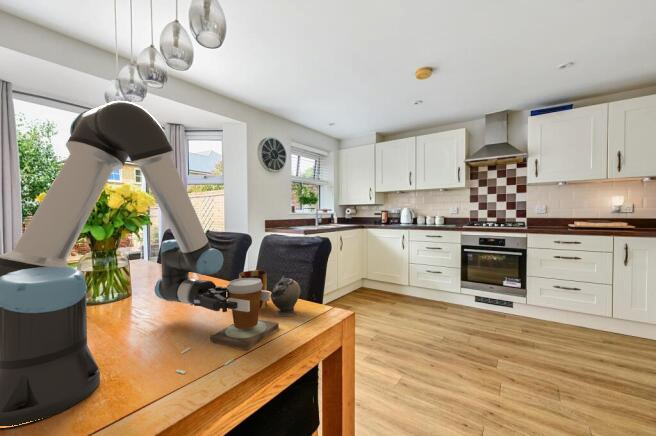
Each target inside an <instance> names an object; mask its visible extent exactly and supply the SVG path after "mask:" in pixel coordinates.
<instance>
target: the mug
mask: <svg viewBox="0 0 656 436" xmlns="http://www.w3.org/2000/svg"><path fill="white" fill-rule="evenodd" d="M242 278H257V279H260V280H261V281H262V284H263V287H262V289H261V290H264V291H268V290H267V288H268V287H267V271H265V270H257V269H256V270H255V269H254V270H245V271H242V272H239V274H238V279H242ZM267 302H268V301H262V300H260V307H259V312H260V311H261V309H265V308H266V307H267V304H268V303H267Z"/></svg>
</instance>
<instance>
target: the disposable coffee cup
mask: <svg viewBox="0 0 656 436" xmlns="http://www.w3.org/2000/svg"><path fill="white" fill-rule="evenodd" d="M228 285H229V286H228V287H227V286H226V287H227V289H228V291H229V293H230V298H234V299H241V300H248V301H250V311H249V312H244V311H238V310H232V309H231V314H232V318H233V319H232V321H233V324H234V327H235V328H238V329H248V328H252V327H254V326H256V325H257V324H258V319H259V316H260V315H259V314H260V311H259V307H260V298H261V289H262V287H263V284H262V281H261V280H260V279H257V278H242V279H239V278H236V279H233V280H230V281H229V282H228Z"/></svg>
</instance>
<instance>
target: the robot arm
mask: <svg viewBox="0 0 656 436" xmlns="http://www.w3.org/2000/svg"><path fill="white" fill-rule="evenodd" d="M69 131H70V133H69V134H70V137H68V139H67V141H66V143H65V146H66V149H67V150H68V152H69V155H68V157H67V159H66V160H65V162H64V164H63V165H62V167H61V169H60V171H59V172H58V173H57V175H56V177H55V179H54V180H53V182H52V184H51V185H50V188H49V189H48V191H47V192H46V194H45V196H44V198H43V199H42V201H41V202H40V204H39V206H38V208H37V209H36V211H35V213H34V214H33V216H32V217H31V219H30V221H29V222H28V225H27V226H26V227H25V229H24V231H23V232H22V234H21V236H20V238H19V240H18V241H17V243H16V245H15V246H14V248H13V249H12V250H11V251H8V252H5V253H2V254H0V426H12V425H13V426H14V425H19V424H22V423H26V422H30V421H35V420H38V419H42V418H45V419H47V418H49V417H48V416H50V417H52V416H55V415H57V414H60V413H62V412H64V411H65V410H67V409H69V408H71V407H73V406H75V405H76V404H78V403H80V402H81V401H83V400H85V398H87V397H88V396H90V395H91V394H92V393H93V392H94V391H95V390H96V389H97V388H98V387H99V384H100V382H101V379H100V376H101V375H100V374H101V373H100V368H99V365H98V363H97V362H96V359H95V357H94V356H93V354H92V352H91V350H90V348H89V346H88V319H87V318H88V317H87V315H88V314H87V305H88V304H87V293H88V285H87V283H86V276H85V274H84V273H83V272H82V271H81V270H80V269H76V268H74V267H70V265H69V264H68V261H67V260H68V259H69V256H70V254H71V252H72V250H73V249H74V247H75V245H76V242H77V241H78V239H79V237H80V235H81V233H82V231H83V229H84V227H85V226H86V223H87V222H88V219H89V218H90V216H91V214H92V212H93V210H94V208H95V205H96V204H97V202H98V201H99V198H100V197H101V195H102V192H103V190H104V188H105V186H106V185H107V183H108V181H109V179H110V177H111V175H112V173H113V172H114V171H118V170H121V169H123V167H124V166H125V163H126V161H127V159H128V158H129V161H131V163H133V164H134V165H137V166H138V167H139V169H140V172H141V173H142V176H143V177H144V180H145V182H146V183H147V185H148V187H149V189H150V192H151V194H152V195H153V197H154V199H155V202H156V203H157V206H158V207H159V209H160V211H161V213H162V215H163V217H164V219H165V221H166V224H167V225H168V227H169V230H170V231H171V234H172V235H173V237H174V239H168V240H166V239H165V240H163V241H162V242H161V245H160V246H161V247H160V263H161V277H160V278H159V279H158V280H157V281H156V283H155V285H154V288H153V289H154V293H155V296H156V297H157V298H159V299H161V300H163V301H167V302H175V303H180V304H188V305H189V306H194V307H202V308H205V309H207V310H210V311H213V312H220V311H221V310H222V313H227V312H228V310H231V311H232V310H238V311H244V312H249V311H250V301H248V300H241V299H234V298H230V293H229V291H228V289H227V287H228V286H229V284H227V285H226V286H221V285H219V286H217V285H216V283H214V282H213V281H212V280H207V279H200V278H199V279H198V278H189V277H190V273H191V274H196V275H202V276H203V275H207V276H209V275H210V276H211V275H214V274H217V273H218V272H219V271H220V270H221V269H222V268H223V264H224V256H223V253H222V252H221V251H220V250H219V249H216V248H215V247H214V248H213V247H212V246H211V244H210V243H209V239H208V236H207V235H206V233H205V230H204V228H203V226H202V222H201V221H200V219H199V217H198V215H197V212H196V210H195V208H194V205H193V202H192V200H191V199H190V195H189V194H188V192H187V189H186V187H185V185H184V183H183V180H182V177H181V176H180V173H179V171H178V169H177V166H176V163H175V162H174V160H173V157H172V156H173V154H174V152H175V151H174V149H173V147H172V145H171V141H170V140H169V138H168V136H167V134H166V133H165V131H164V129H163V128H162V126H161V125H160V123H159V122H158V121H157V119H156V118H155V117H154V116H153V115H152V114H151V113H150V112H149V111H147V110H146V109H145V108H143V107H142V106H141V105H138V104H136V103H133V102H130V101H126V100H116V101H110V102H108V103H106V104H104V105H101V106H99V107H95V108H91V109H87V110H85V111H83V112H81V113H79V114H78V115H77V116H76V117H75V118H74V120H73V121H72V122H71V124H70V130H69ZM270 295H271V291H269V290H267V291H264V290H261V298H260V300H262V301H267V302H271V297H270ZM63 410H64V411H63ZM56 413H57V414H56ZM54 414H55V415H54ZM46 417H47V418H46ZM42 420H43V419H42Z"/></svg>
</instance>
